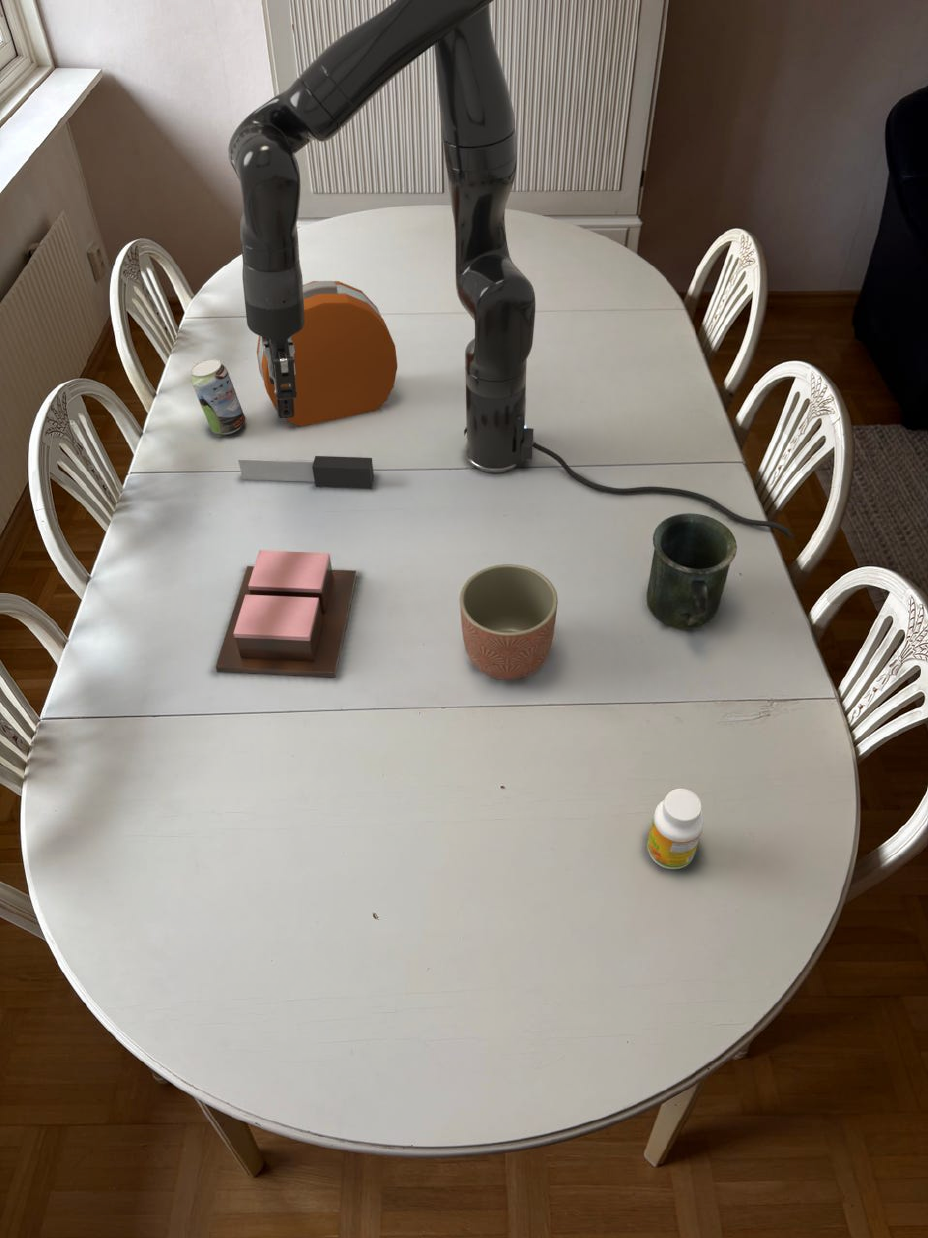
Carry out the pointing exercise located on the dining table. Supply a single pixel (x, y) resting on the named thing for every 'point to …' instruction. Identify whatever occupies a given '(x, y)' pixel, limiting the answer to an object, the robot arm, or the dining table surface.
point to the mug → (689, 569)
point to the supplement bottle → (676, 829)
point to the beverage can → (217, 396)
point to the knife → (312, 471)
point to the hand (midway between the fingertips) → (281, 399)
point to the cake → (288, 616)
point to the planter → (508, 620)
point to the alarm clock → (337, 356)
